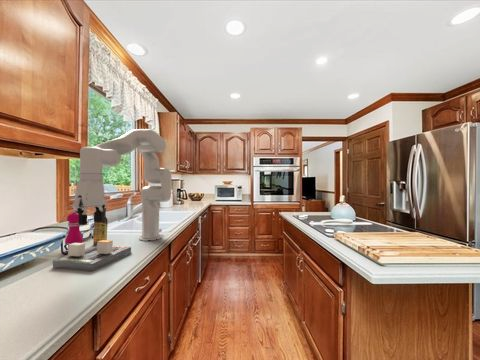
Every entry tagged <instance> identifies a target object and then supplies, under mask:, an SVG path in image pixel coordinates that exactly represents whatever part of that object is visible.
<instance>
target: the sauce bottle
mask: <svg viewBox="0 0 480 360" xmlns="http://www.w3.org/2000/svg"><path fill="white" fill-rule="evenodd" d="M106 211H107V207H106V206H105V208H104V209H103V212H102V221H101V222H95V221H94V224H93V225H94V226H93V239H92V240H93V241H92V242H93V245H94V246H96V245H97V242H98V241H101V240H108V238H107V237H108V223H109V222H108V220H109V219H108V218H107V217H106V216H107V215H106Z"/></svg>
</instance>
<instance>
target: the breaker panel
mask: <svg viewBox="0 0 480 360" xmlns="http://www.w3.org/2000/svg"><path fill="white" fill-rule="evenodd" d="M131 254H132V246H121V245H120V246H119V245H113V252H111V253H108V254H101V253H97V245H94V246H90V247H88V248H85V254H84V255H81V256H68V254H67V255H64V256H61V257H59V258H55V259H53V260H52V268H53V269H59V270H60V269H61V270H69V271H70V270H72V271H83V272H93V273H94V272H95V271H96V270H99V269H102V268H103V267H105V266H107V265H109V264H112V263H113V262H116V261H118V260H120V259H122V258H124V257H127V256H128V255H131Z"/></svg>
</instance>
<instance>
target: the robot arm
mask: <svg viewBox="0 0 480 360" xmlns="http://www.w3.org/2000/svg"><path fill="white" fill-rule="evenodd" d="M136 149H137V151H138V152H139V153H140V154H141V157H142V159H143V180H144V182H145V183H146V184H150V185H147V186H144V187H142V188H141V190H140V200H141V211H142V212H141V213H142V214H141V235H139V237H138V239H139V240H140V241H142V242H143V241H145V242H148V240H151V241H156V239H157V240H160V239H162V234H160V233H161V232H162V231H163V230H162V228H160V207H159V205H158V203H166V202H169V201H170V200H171V198H172V173H171V170H169V168H167V167H160V158H159V157H158V156H157V154H156V153H164V152H165V151H166V150H167V143H166V141H165V139H164V138H163V137H162V136H161V135H160V134H158V133H157V132H156V131H154V130H152V129H148V128H145V129H144V128H143V129H142V128H141V129H140V128H139V129H137V128H136V129H132V130H129V131H128V132H126V133H125V134H123V135H121V136H120V137H118V138H117V137H116V138H114V139H111V140H109V141H108V140H107V141H104V142H102V143H99V144H96V145H94V146H83V147H81V148H80V150H79V156H80V157H79V181H77V182H76V183H77V184H76V187H75V191H74V192H75V193H74V202H73V203H72V204H71V205H70V206H71V208H73V209H72V210H75V211H76V213H77V214H78V215H79V225H80V226H86V225H88V214H87V211H88V208H92V207H93V208H94V212H93V222H94V223H95V222H101V221H102V212H103V209H104V208H105V207H106V205H107V204H108V200H107V199H106V198H105V188H104V187H105V185H104V181H103V178H104V176H103V172H104V171H103V168H113V167H117V166H119V165H120V163H121V161H122V156H124V155H127V154H128V155H129V154H130V153H132V152H133V151H134V150H136ZM151 184H153V185H151ZM155 184H156V185H155ZM157 184H158V185H157ZM159 184H160V185H159Z"/></svg>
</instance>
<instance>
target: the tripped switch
mask: <svg viewBox="0 0 480 360" xmlns="http://www.w3.org/2000/svg"><path fill="white" fill-rule="evenodd" d="M113 244H114V242H113V240H111V239H110V240H108V239H107V240H101V241H98V242H97V253H101V254H108V253H111V252H113V246H114V245H113Z"/></svg>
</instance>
